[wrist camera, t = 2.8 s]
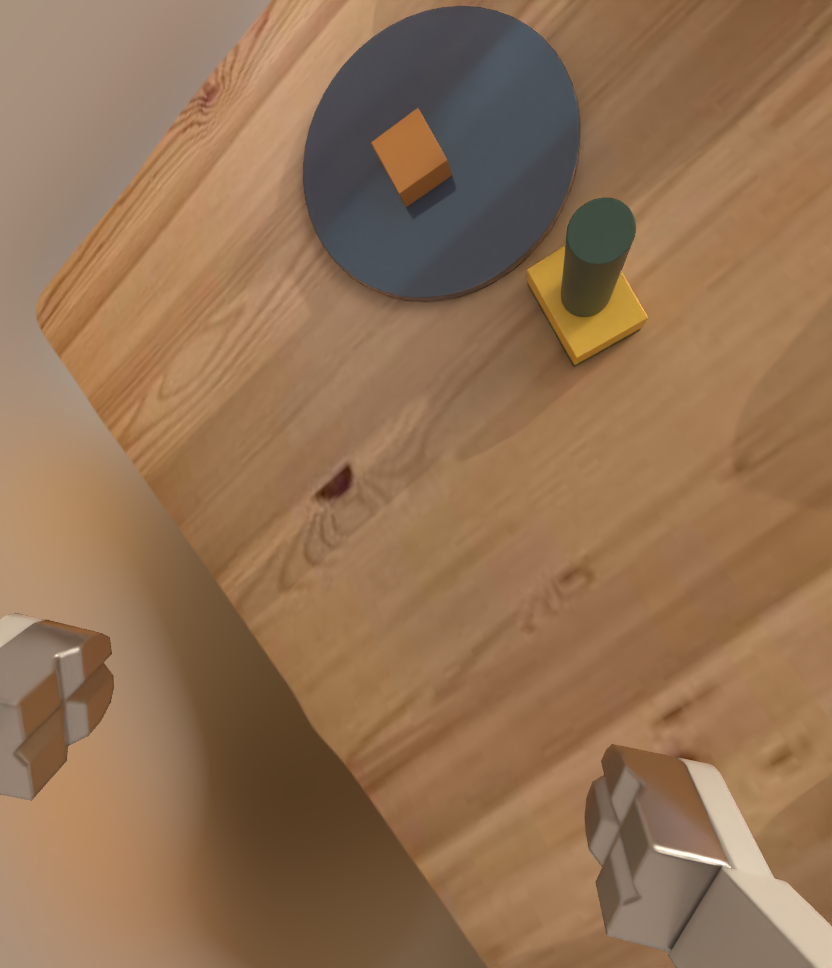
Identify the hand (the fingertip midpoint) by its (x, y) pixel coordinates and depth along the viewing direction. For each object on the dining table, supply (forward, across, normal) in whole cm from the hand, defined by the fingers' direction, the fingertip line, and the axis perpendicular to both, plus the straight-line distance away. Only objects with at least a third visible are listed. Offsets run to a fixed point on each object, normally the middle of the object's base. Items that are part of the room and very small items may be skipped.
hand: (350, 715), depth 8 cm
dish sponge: (+33, -8, -7) cm, 35 cm away
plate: (+38, +4, -15) cm, 42 cm away
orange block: (+38, +6, -14) cm, 41 cm away
